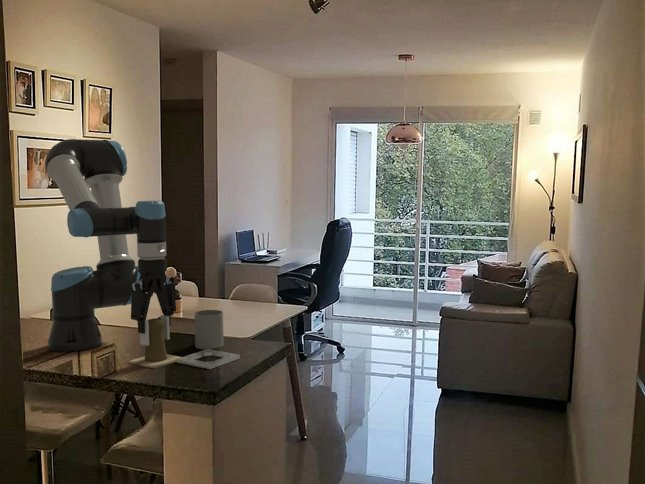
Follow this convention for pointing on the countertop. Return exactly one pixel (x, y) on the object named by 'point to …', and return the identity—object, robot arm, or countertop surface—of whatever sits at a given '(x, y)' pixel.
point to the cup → (209, 329)
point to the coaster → (154, 364)
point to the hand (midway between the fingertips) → (155, 341)
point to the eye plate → (210, 364)
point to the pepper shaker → (155, 341)
